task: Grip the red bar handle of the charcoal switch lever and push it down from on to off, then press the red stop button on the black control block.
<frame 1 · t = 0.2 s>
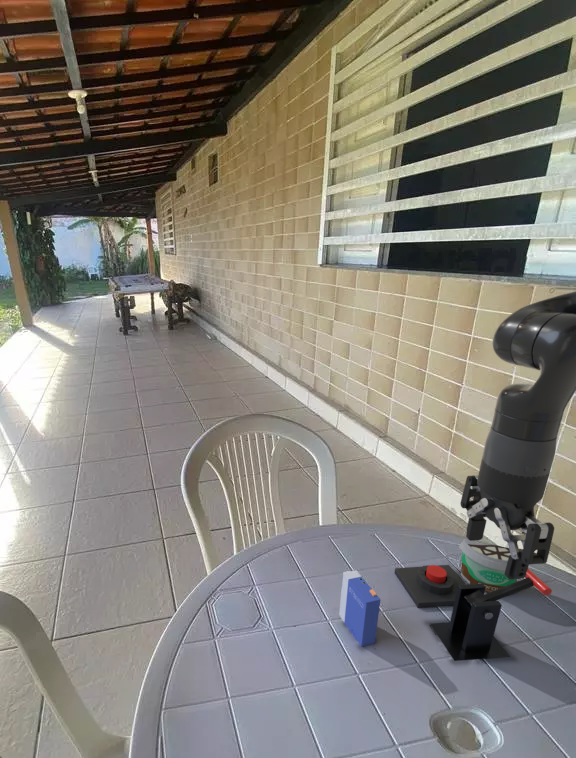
hand: (492, 556, 63), 25 cm above the table, tool pointing down, fingers open, 8 cm apart
stop button: (436, 574, 88), point 4 cm above the table, slide at 0.1 cm
stop block: (433, 590, 89), on the table
switch bracket: (467, 644, 77), on the table
food container: (490, 591, 89), on the table
lever: (503, 592, 73), point 12 cm above the table, hinge at 25.0°
walkman: (355, 633, 81), on the table
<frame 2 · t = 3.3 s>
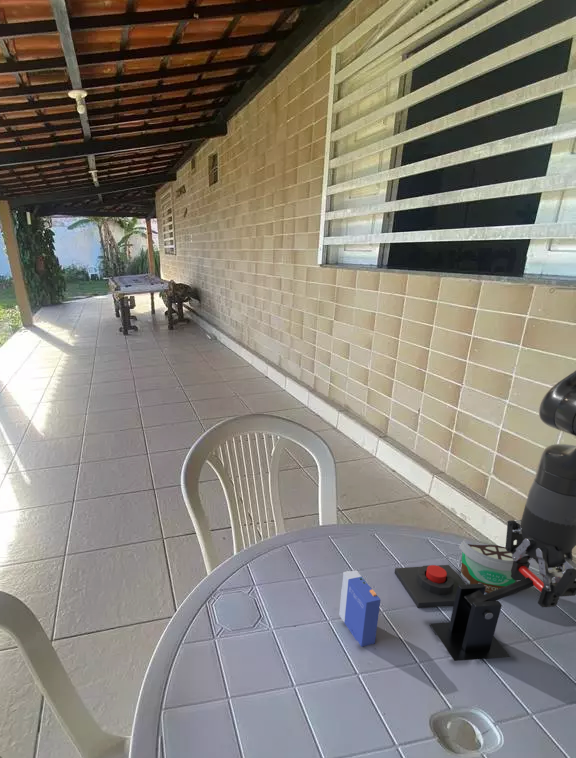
hand: (531, 591, 73), 12 cm above the table, tool pointing down, fingers closed on lever, 5 cm apart
lever: (503, 592, 73), point 12 cm above the table, hinge at 24.9°, touching gripper
everything else where it was.
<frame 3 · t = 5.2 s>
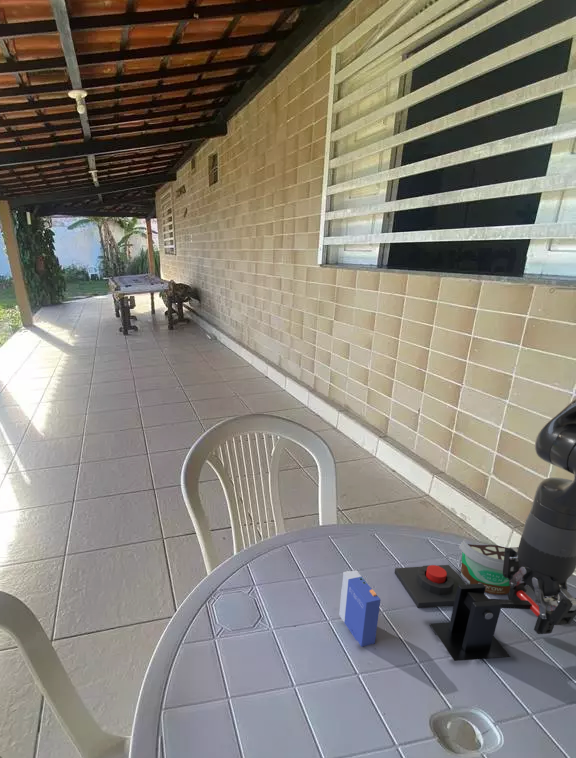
hand: (527, 617, 75), 6 cm above the table, tool pointing down, fingers closed on lever, 5 cm apart
lever: (502, 603, 74), point 9 cm above the table, hinge at -8.1°, touching gripper
everything else where it was.
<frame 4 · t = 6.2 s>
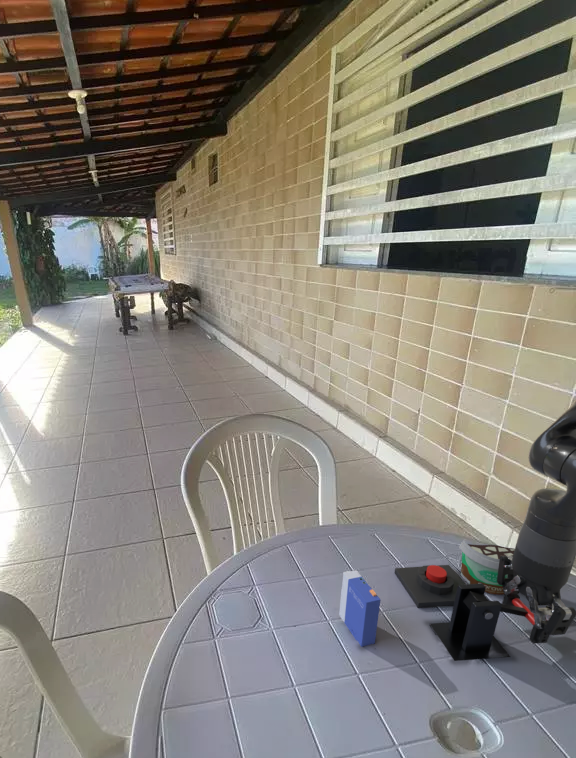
hand: (522, 625, 76), 4 cm above the table, tool pointing down, fingers open, 6 cm apart
lever: (500, 607, 74), point 9 cm above the table, hinge at -18.6°
everything else where it was.
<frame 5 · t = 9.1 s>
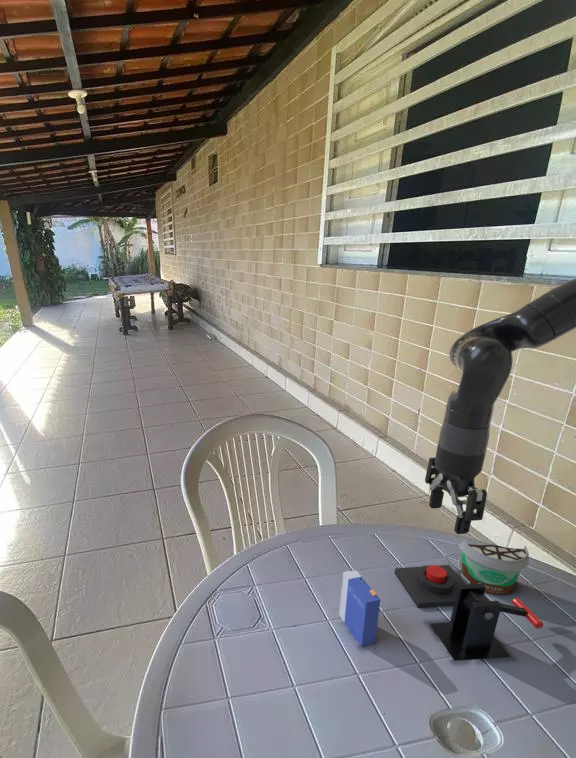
hand: (447, 519, 83), 18 cm above the table, tool pointing down, fingers open, 8 cm apart
nothing on the table moved.
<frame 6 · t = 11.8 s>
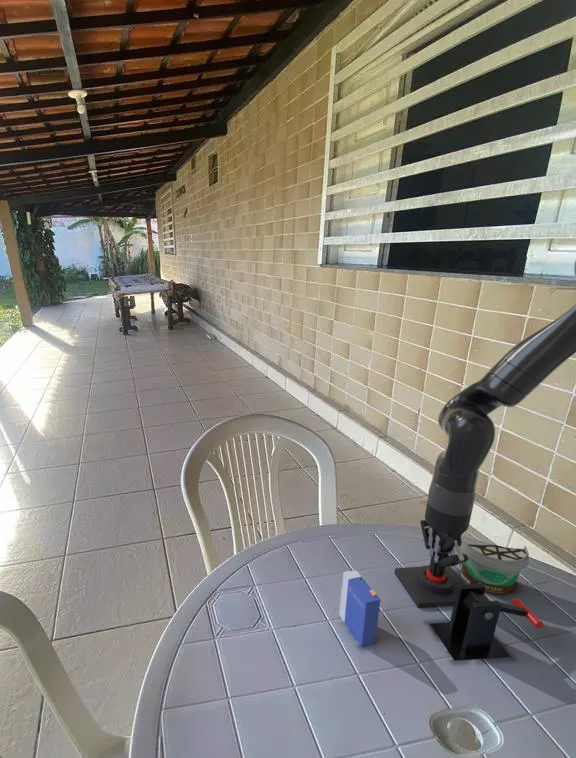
hand: (435, 573, 88), 5 cm above the table, tool pointing down, fingers closed
stop button: (435, 577, 88), point 4 cm above the table, slide at -0.7 cm, touching gripper
everything else where it was.
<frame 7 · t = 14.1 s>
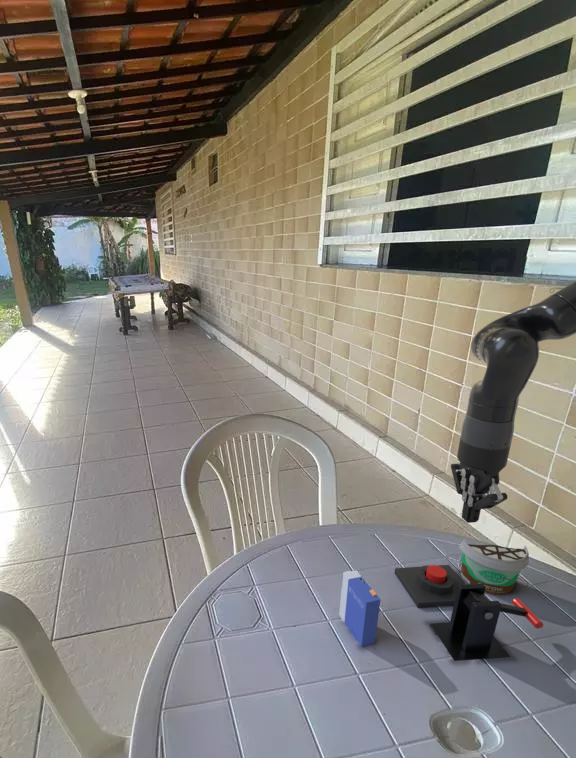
hand: (469, 520, 81), 19 cm above the table, tool pointing down, fingers closed
stop button: (436, 574, 88), point 4 cm above the table, slide at 0.1 cm
everything else where it was.
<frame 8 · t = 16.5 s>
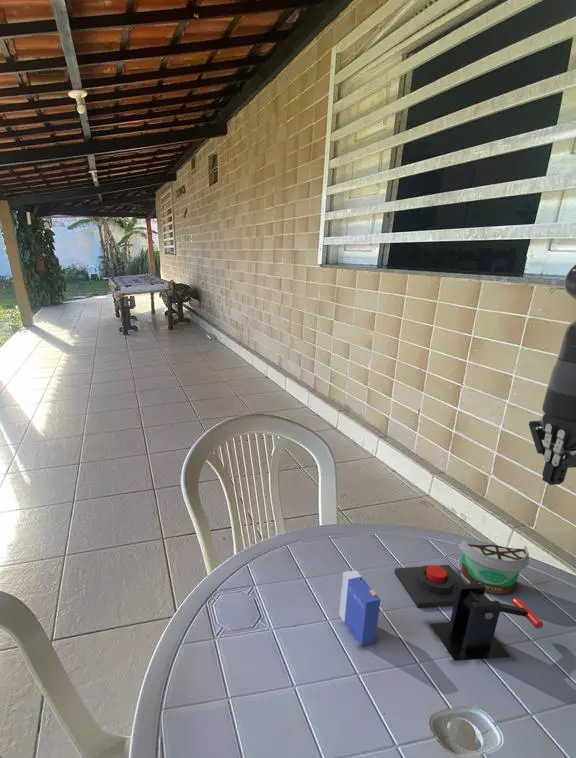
hand: (551, 482, 73), 29 cm above the table, tool pointing down, fingers closed
nothing on the table moved.
at the end: lever at -19° (first picture: +25°); stop button pushed in 1.1 cm at the most during the clip, back to where it started at the end; stop button slide at 0.1 cm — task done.
